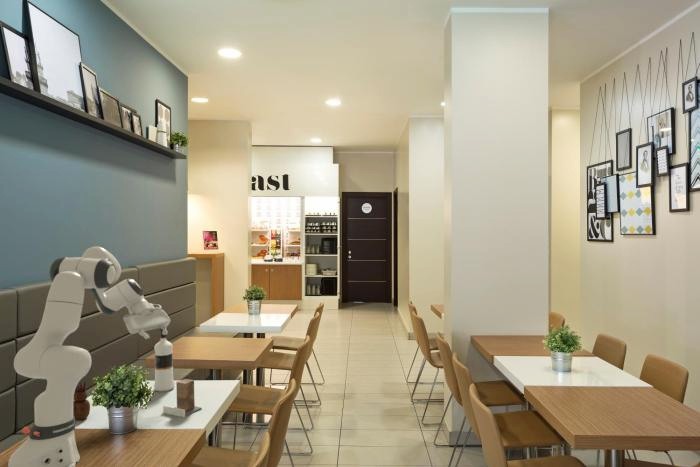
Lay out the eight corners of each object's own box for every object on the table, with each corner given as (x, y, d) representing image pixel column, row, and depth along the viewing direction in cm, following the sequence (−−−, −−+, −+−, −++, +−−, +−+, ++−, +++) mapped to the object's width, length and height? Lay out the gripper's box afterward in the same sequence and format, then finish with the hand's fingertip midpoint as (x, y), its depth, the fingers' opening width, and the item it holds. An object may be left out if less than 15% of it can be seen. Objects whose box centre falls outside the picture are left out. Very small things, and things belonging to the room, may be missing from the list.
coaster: (185, 416, 207) (185, 414, 207) (170, 412, 212) (170, 411, 212) (201, 409, 215) (201, 407, 215) (186, 405, 219) (186, 404, 219)
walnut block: (185, 412, 210) (184, 383, 210) (177, 410, 212) (176, 381, 212) (194, 408, 214) (194, 380, 214) (186, 406, 217) (185, 378, 217)
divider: (183, 417, 206) (183, 410, 206) (163, 412, 212) (163, 405, 212) (185, 416, 206) (184, 409, 206) (164, 412, 212) (164, 404, 212)
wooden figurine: (93, 416, 209) (92, 380, 209) (84, 421, 203) (83, 384, 203) (77, 415, 210) (76, 379, 209) (68, 421, 204) (67, 384, 204)
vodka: (172, 391, 239) (171, 328, 239) (151, 392, 238) (150, 329, 237) (176, 385, 248) (175, 324, 248) (156, 386, 247) (155, 325, 247)
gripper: (124, 311, 216) (140, 336, 211) (163, 304, 234) (178, 327, 229) (117, 320, 218) (133, 345, 213) (157, 313, 236) (172, 336, 231)
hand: (157, 336), depth 221 cm, fingers open, 8 cm apart
